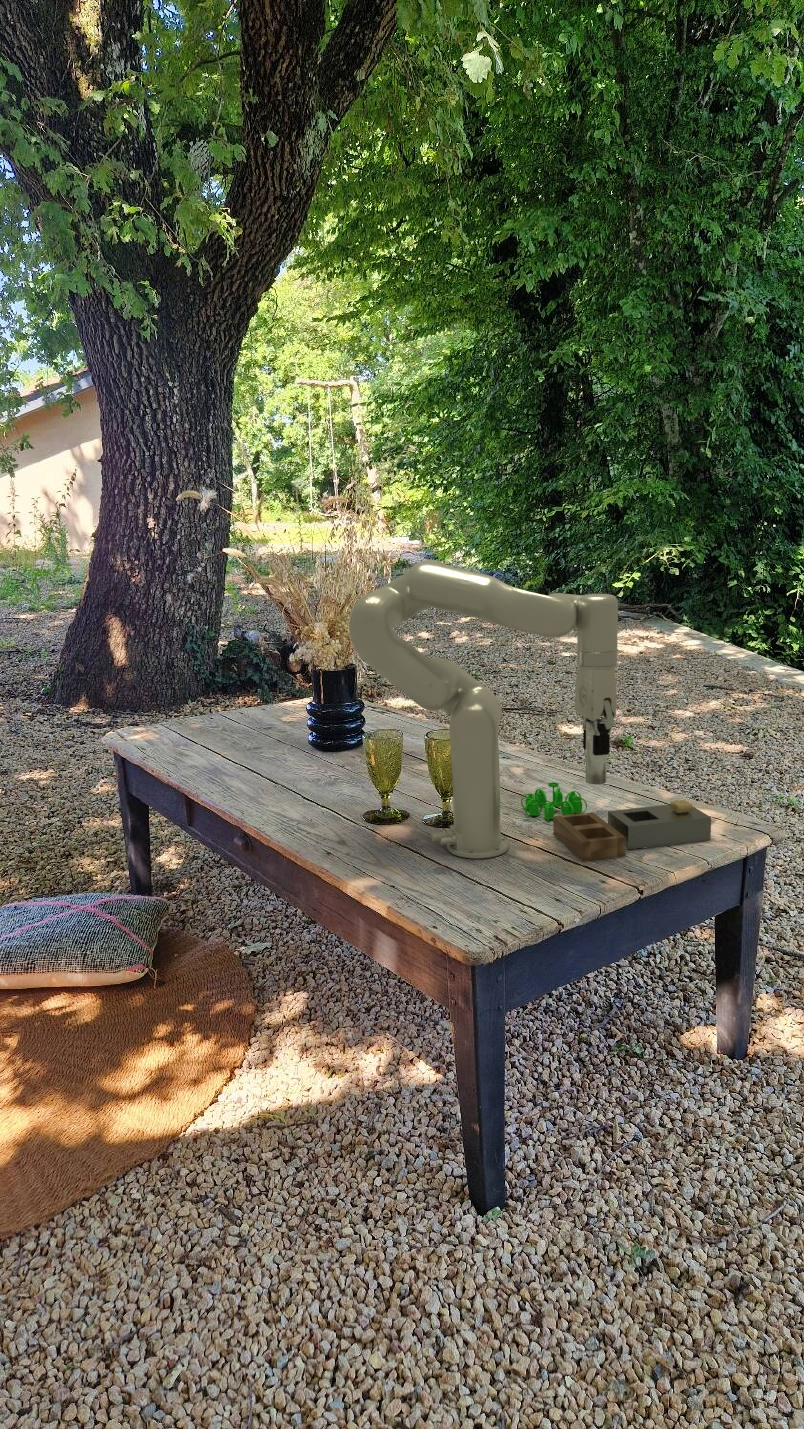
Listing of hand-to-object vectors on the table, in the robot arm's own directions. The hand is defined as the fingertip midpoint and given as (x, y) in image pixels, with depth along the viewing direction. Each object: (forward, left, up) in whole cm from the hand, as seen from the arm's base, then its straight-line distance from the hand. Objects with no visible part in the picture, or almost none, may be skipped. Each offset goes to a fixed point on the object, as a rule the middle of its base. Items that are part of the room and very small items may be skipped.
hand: (596, 750), depth 177 cm
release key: (+21, +4, -21) cm, 29 cm away
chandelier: (+1, +26, -21) cm, 34 cm away
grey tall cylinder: (0, 0, -6) cm, 6 cm away
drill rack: (0, +4, -21) cm, 21 cm away
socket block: (+16, +4, -21) cm, 26 cm away
